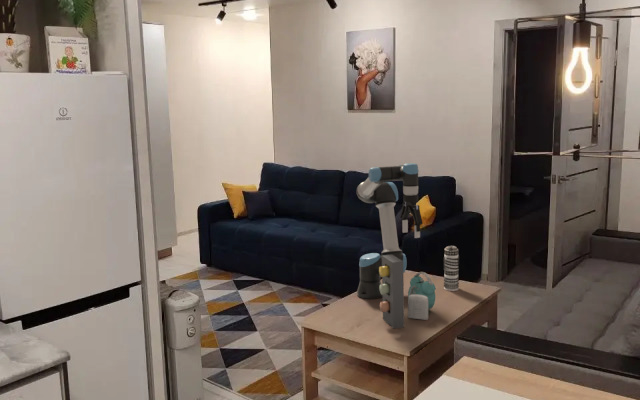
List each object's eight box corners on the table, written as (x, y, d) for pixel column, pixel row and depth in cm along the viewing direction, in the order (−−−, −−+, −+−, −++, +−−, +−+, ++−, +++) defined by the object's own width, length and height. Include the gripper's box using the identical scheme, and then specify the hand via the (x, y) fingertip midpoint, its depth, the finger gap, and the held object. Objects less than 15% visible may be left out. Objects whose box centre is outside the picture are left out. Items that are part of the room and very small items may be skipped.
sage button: (387, 291, 298) (386, 282, 297) (390, 294, 293) (390, 285, 292) (379, 292, 297) (379, 283, 296) (383, 295, 292) (383, 285, 291)
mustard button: (386, 274, 296) (386, 264, 295) (390, 277, 292) (390, 267, 291) (379, 275, 295) (378, 265, 294) (382, 277, 290) (382, 267, 290)
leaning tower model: (462, 288, 347) (463, 246, 343) (451, 292, 342) (451, 249, 338) (451, 285, 355) (451, 244, 351) (440, 288, 350) (439, 246, 346)
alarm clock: (405, 306, 322) (404, 270, 319) (420, 303, 326) (420, 267, 322) (423, 316, 306) (422, 278, 303) (438, 313, 310) (438, 275, 307)
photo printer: (429, 317, 304) (429, 294, 302) (427, 320, 300) (427, 296, 298) (409, 315, 308) (408, 292, 306) (407, 318, 304) (406, 295, 302)
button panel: (393, 317, 306) (392, 254, 300) (404, 327, 292) (403, 261, 287) (382, 318, 304) (381, 255, 299) (393, 328, 291) (392, 262, 286)
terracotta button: (387, 309, 299) (387, 299, 298) (391, 312, 294) (391, 302, 294) (379, 310, 298) (379, 300, 297) (383, 313, 293) (383, 303, 293)
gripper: (429, 196, 294) (429, 239, 297) (406, 190, 317) (406, 229, 321) (415, 198, 292) (415, 240, 295) (393, 191, 315) (394, 230, 318)
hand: (411, 235), depth 308 cm, fingers open, 13 cm apart
